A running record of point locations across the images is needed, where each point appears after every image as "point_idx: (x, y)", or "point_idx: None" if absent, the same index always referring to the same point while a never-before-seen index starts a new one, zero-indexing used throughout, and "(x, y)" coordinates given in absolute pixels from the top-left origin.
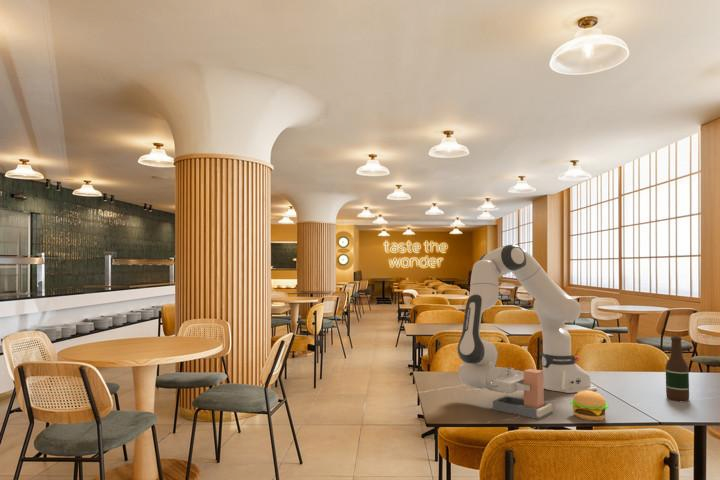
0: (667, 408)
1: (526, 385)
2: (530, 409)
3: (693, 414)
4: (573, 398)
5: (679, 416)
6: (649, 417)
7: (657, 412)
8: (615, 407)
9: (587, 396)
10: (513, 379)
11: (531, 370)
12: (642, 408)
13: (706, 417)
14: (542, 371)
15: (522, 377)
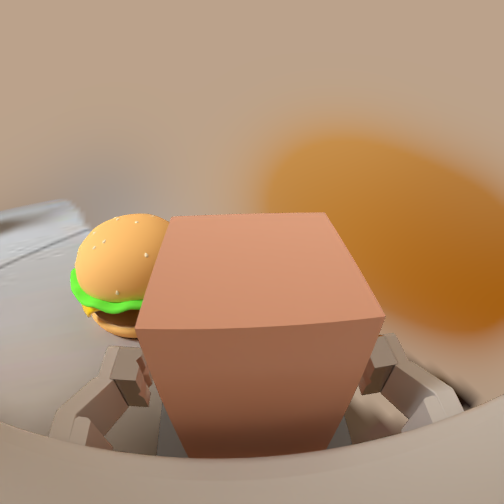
0: (11, 233)
1: (401, 346)
2: (343, 420)
3: (42, 211)
4: (146, 281)
5: (59, 216)
6: (83, 233)
7: (41, 235)
8: (16, 284)
9: (167, 227)
10: (429, 481)
11: (259, 271)
12: (16, 253)
13: (55, 202)
14: (194, 220)
15: (217, 485)
